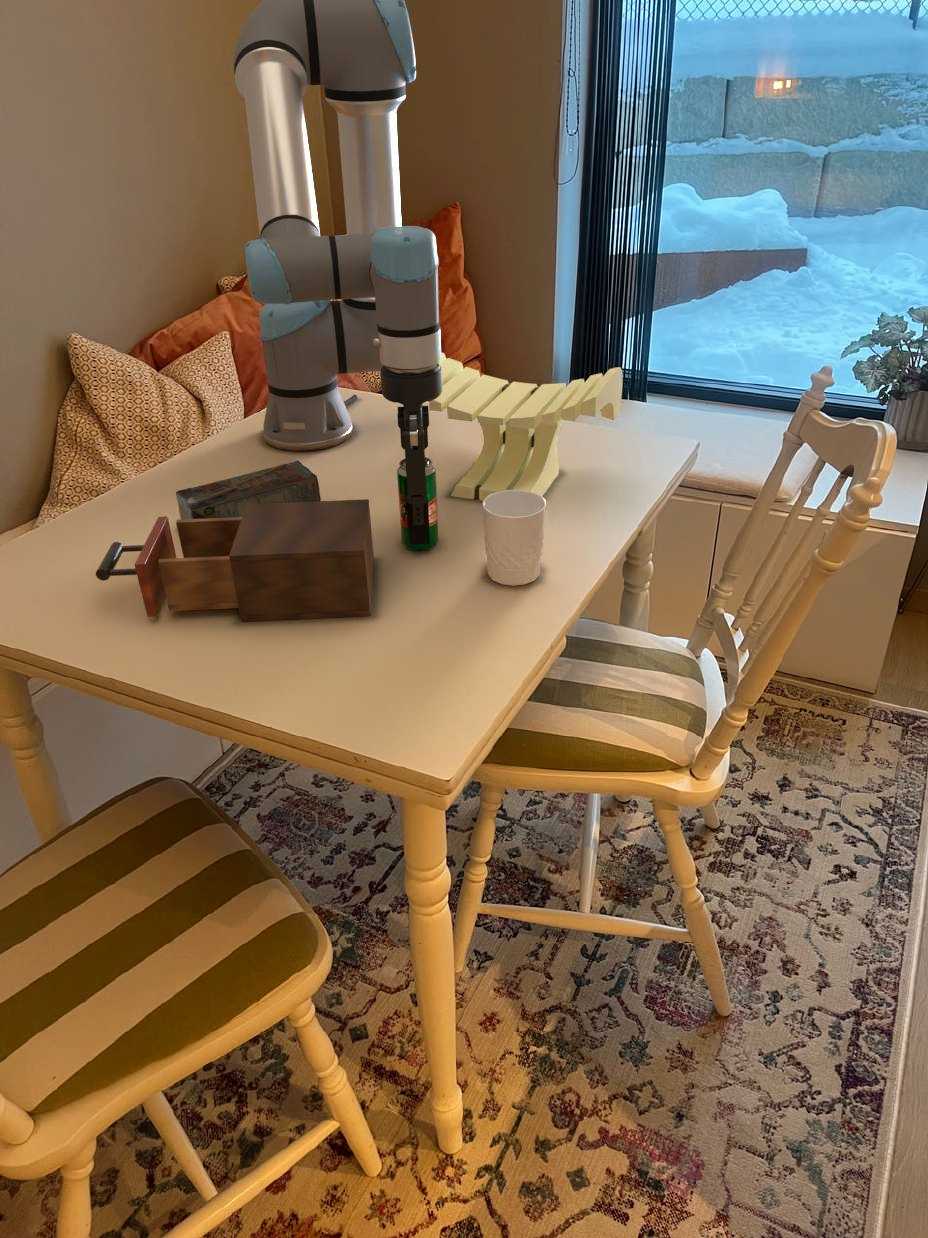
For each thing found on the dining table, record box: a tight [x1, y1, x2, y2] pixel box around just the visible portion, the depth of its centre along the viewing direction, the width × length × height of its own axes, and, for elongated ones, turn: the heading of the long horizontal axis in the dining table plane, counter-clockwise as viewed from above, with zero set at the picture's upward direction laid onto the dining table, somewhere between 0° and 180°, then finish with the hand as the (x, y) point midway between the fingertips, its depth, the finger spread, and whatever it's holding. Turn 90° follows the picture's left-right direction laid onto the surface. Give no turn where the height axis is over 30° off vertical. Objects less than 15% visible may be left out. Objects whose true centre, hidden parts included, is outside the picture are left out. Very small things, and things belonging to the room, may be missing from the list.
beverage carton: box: [175, 460, 322, 520], centre depth 133 cm, size 8×19×7 cm, turn 121°
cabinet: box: [229, 498, 375, 623], centre depth 116 cm, size 16×14×9 cm
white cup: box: [481, 490, 547, 587], centre depth 118 cm, size 8×8×10 cm
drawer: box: [95, 515, 242, 618], centre depth 115 cm, size 20×12×7 cm, turn 93°
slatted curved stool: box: [428, 351, 624, 502], centre depth 140 cm, size 30×16×18 cm, turn 68°
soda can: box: [396, 456, 439, 552], centre depth 125 cm, size 5×5×12 cm
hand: (419, 532), depth 127 cm, fingers closed on soda can, 5 cm apart
